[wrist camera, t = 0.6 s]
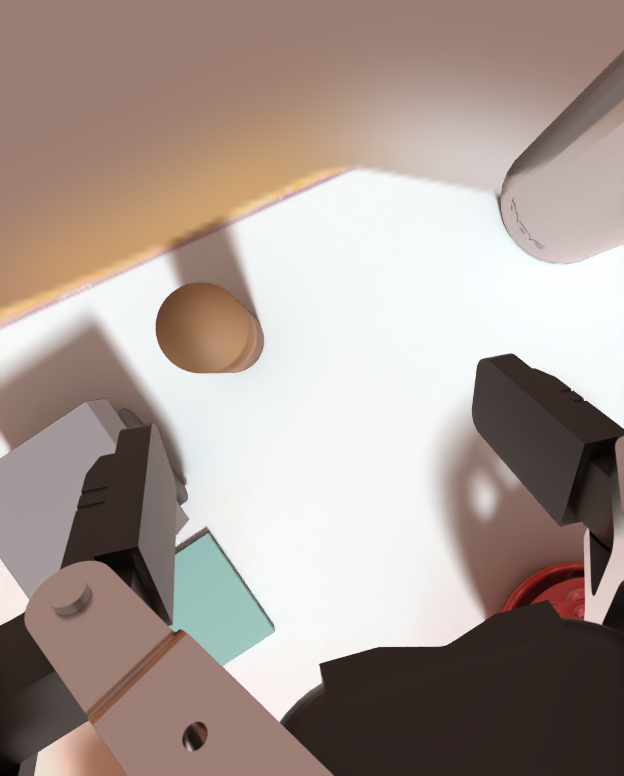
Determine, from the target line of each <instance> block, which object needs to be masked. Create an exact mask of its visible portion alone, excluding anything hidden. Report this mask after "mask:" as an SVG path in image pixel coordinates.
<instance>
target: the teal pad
mask: <svg viewBox="0 0 624 776" xmlns="http://www.w3.org/2000/svg"><path fill="white" fill-rule="evenodd" d="M169 627H170V628H171V629H172V630H173V631H175V632H177V631H178V630H179V629H181V630H183V631H185V632H186V633H188V634H189V635H190V636H191V637H192V638H194V639H195V640H196V641H197V642H198V643H199V644H200V645H201V646H202V647H203V648H204V649H205V650H206V651H207V652H208V653H209V654H210V655H211V656H212V657H213V658H214V659H215V660H216V661H217V662H218V663H219V664H220V665H221V666H223V665H225V664H227V663H228V662H230V661H231V660H233V659H234V658H236V657H237V656H239V655H240V654H242V653H243V652H245V651H246V650H248V649H249V648H251V647H252V646H254V645H255V644H257V643H258V642H260V641H262V640H263V639H265V638H266V637H268V636H269V635H271V634H272V633H274V632H275V628H274V627H273V625H272V624H271V622H270V621H269V620H268V618H267V617H266V615H265V614H264V612H263V611H262V609H261V608H260V606H259V605H258V603H257V602H256V601H255V599H254V598H253V596H252V595H251V593H250V592H249V590H248V589H247V587H246V586H245V584H244V583H243V582H242V580H241V579H240V577H239V576H238V574H237V573H236V571H235V570H234V568H233V567H232V565H231V564H230V562H229V561H228V560H227V558H226V557H225V555H224V554H223V552H222V551H221V549H220V548H219V546H218V545H217V543H216V542H215V541H214V539H213V538H212V536H211V535H210V533H209V532H208V533H206V534H205V535H203V536H202V537H200V538H199V539H197V540H196V541H194V542H193V543H191V544H190V545H188V546H187V547H185V548H184V549H182V550H181V551H179V552H178V553H176V554H175V572H174V606H173V625H170V626H169Z"/></svg>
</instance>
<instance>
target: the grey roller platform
mask: <svg viewBox="0 0 624 776" xmlns="http://www.w3.org/2000/svg"><path fill="white" fill-rule="evenodd" d="M141 425H143V423H142V422H141V421H140V419H139V418H138V417H137V416H136V415H135V414H134V413H132V412H131V411H129V410H127V409H122V410H121V411H119V412H118V413H116V412H115V410H114V409H113V407H112V406H111V404H110V403H109V401H108V400H107V399H99V400H92V401H86V402H84V403H83V404H81V405H80V406H78V407H77V408H75V409H74V410H72V411H71V412H69V413H68V414H66V415H65V416H63V417H62V418H60V419H59V420H57V421H56V422H54V423H53V424H51V425H50V426H48V427H47V428H45V429H44V430H42V431H41V432H39V433H38V434H36V435H35V436H33V437H32V438H30V439H29V440H27V441H26V442H24V443H23V444H21V445H20V446H18V447H17V448H15V449H14V450H12V451H11V452H9V453H8V454H6V455H5V456H3V457H2V458H0V559H1V560H2V561H3V563H4V564H5V566H6V567H7V569H8V570H9V571H10V573H11V574H12V576H13V577H14V579H15V580H16V581H17V583H18V584H19V586H20V587H21V588H22V590H23V591H24V593H25V594H26V596H27V597H28V598H29V600H30V599H31V597H32V595H33V594H34V592H35V591H36V590H37V589H38V588H39V586H40V585H41V584H42V583H43V582H44V581H45V580H47V579H48V578H49V577H50V576H52V575H53V574H54V573H56V572H58V571H59V570H60V567H61V564H62V560H63V556H64V553H65V549H66V545H67V542H68V538H69V534H70V531H71V527H72V523H73V520H74V516H75V512H76V511H77V505H78V501H79V498H80V496H81V495H82V494H81V490H82V487H83V483H84V479H85V476H86V473H87V472H88V471H89V469H90V468H91V467H92V466H93V464H94V463H95V462H96V461H97V459H98V458H99V457H100V456H103V455H108V454H113V453H115V450H116V445H117V440H118V436H119V432H120V430H121V429H126V428H131V427H136V426H141ZM172 472H173V476H174V480H175V486H176V494H177V505H176V535H177V534H178V532H179V531H180V530H181V529H182V527H183V526H184V525H185V524H186V522H187V521H188V520H189V518H188V517H187V515H186V514H185V512H184V511H183V509H182V508H181V507H180V505H182V504H183V503H185V502H186V501H187V499H188V495H187V491H186V488H185V486H184V484H183V482H182V481H181V479H180V478H179V476H178V475H177V474H176V473H175V472H174V471H173V470H172Z"/></svg>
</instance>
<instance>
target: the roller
mask: <svg viewBox="0 0 624 776" xmlns="http://www.w3.org/2000/svg"><path fill="white" fill-rule="evenodd" d="M156 336H157V340H158V343H159V346H160V348H161V350H162V351H163V353H164V354H165V356H166V357H167V358H168V359H169V360H170V361H171V362H172V363H173V364H175V365H176V366H178V367H179V368H181V369H183V370H186V371H189V372H193V373H235V372H240V371H243V370H246V369H248V368H249V367H251V366H252V365H253V364H254V363H255V362H256V361H257V360H258V359H259V357H260V355H261V353H262V350H263V346H264V335H263V331H262V328H261V326H260V324H259V323H258V321H257V320H256V319H255V318H254V317H253V316H252V315H251V314H250V313H249V312H248V311H247V310H246V309H245V308H244V307H243V306H242V305H241V304H240V303H239V302H238V301H237V300H236V299H235V298H234V297H233V296H232V295H231V294H230V293H229V292H227V291H226V290H224V289H223V288H221V287H219V286H216V285H213V284H210V283H191V284H188V285H185V286H182V287H180V288H178V289H177V290H175V291H174V292H172V293H171V294H170V295H169V296H168V297H167V298H166V299H165V301H164V302H163V304H162V305H161V307H160V309H159V312H158V315H157V319H156Z"/></svg>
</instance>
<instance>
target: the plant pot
mask: <svg viewBox="0 0 624 776" xmlns="http://www.w3.org/2000/svg"><path fill="white" fill-rule="evenodd" d="M545 600H549V602H550V603H551V605H552V606H553V607H554V609H555V610H556V612H557V613H558V614H559V616H560V617H561V618H572V619H580V620H584V615H585V572H584V563H581V562H571V563H562V564H557V565H553V566H550V567H547V568H544V569H542V570H540V571H538V572H536V573H534V574H533V575H531V576H529V577H528V578H527V579H526V580H524V581H523V582H522V583H521V584H520V585H519V586H518V587H517V588H516V589H515V590H514V591H513V593H512V594H511V595H510V597H509V599H508V600H507V602H506V604H505V606H504V608H503V610H502V612H506V611H509V610H513V609H516V608H520V607H523V606H527V605H531V604H534V603H538V602H541V601H545Z"/></svg>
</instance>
